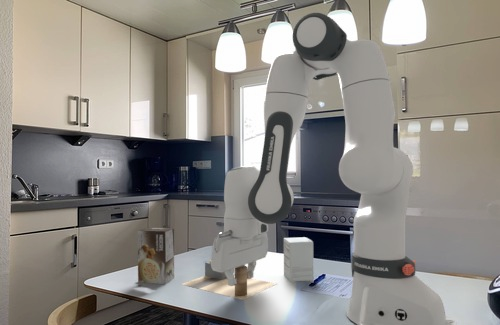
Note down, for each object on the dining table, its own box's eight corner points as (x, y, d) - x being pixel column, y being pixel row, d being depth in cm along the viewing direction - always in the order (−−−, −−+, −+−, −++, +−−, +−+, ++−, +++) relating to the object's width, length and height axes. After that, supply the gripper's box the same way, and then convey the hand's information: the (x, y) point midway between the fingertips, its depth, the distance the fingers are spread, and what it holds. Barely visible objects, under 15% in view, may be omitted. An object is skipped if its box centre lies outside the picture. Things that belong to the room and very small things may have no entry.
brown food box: (175, 281, 112) (175, 227, 112) (166, 288, 105) (166, 231, 106) (147, 279, 114) (147, 226, 114) (136, 286, 107) (136, 230, 108)
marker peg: (249, 293, 97) (249, 262, 97) (242, 297, 94) (242, 264, 95) (239, 291, 99) (239, 260, 99) (232, 294, 96) (232, 262, 96)
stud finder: (233, 275, 113) (233, 261, 113) (222, 279, 109) (222, 264, 109) (216, 272, 117) (216, 258, 117) (205, 275, 113) (205, 261, 113)
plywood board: (276, 287, 105) (276, 283, 106) (243, 304, 92) (243, 299, 92) (217, 275, 118) (217, 271, 118) (180, 288, 105) (180, 284, 105)
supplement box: (306, 277, 116) (306, 236, 116) (314, 284, 109) (313, 241, 109) (283, 278, 115) (283, 237, 115) (289, 286, 107) (289, 241, 108)
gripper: (225, 235, 87) (224, 295, 87) (271, 224, 103) (271, 274, 103) (204, 232, 90) (204, 289, 90) (253, 222, 107) (253, 271, 107)
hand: (240, 281), depth 97 cm, fingers open, 6 cm apart
